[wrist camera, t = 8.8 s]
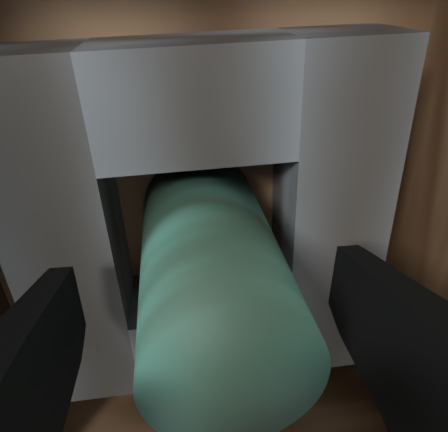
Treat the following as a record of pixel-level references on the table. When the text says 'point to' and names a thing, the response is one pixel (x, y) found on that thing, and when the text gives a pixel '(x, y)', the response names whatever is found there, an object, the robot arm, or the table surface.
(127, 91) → the box
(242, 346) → the peg
